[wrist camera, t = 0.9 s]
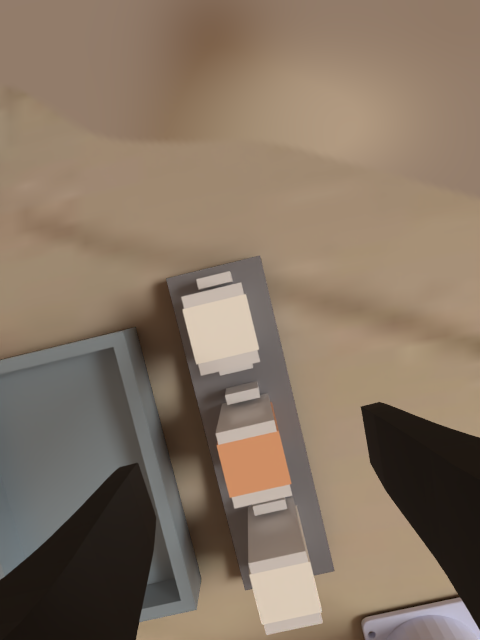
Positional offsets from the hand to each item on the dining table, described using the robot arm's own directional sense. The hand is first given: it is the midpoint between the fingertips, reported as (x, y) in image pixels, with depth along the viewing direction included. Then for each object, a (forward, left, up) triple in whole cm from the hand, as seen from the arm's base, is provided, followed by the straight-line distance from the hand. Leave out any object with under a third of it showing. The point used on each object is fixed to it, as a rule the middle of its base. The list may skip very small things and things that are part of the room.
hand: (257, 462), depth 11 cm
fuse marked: (-3, +1, -12) cm, 12 cm away
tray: (-4, +13, -13) cm, 19 cm away
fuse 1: (+4, +1, -12) cm, 12 cm away
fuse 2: (-10, +1, -12) cm, 16 cm away
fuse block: (-3, +1, -13) cm, 13 cm away
